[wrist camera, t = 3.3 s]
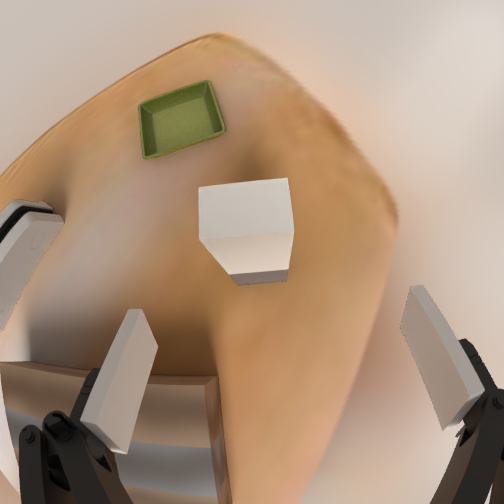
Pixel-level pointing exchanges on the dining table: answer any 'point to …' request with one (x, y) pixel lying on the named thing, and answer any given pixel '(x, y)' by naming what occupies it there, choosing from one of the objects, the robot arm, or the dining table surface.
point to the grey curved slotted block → (22, 248)
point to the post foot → (138, 430)
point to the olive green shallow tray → (179, 119)
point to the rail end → (248, 228)
